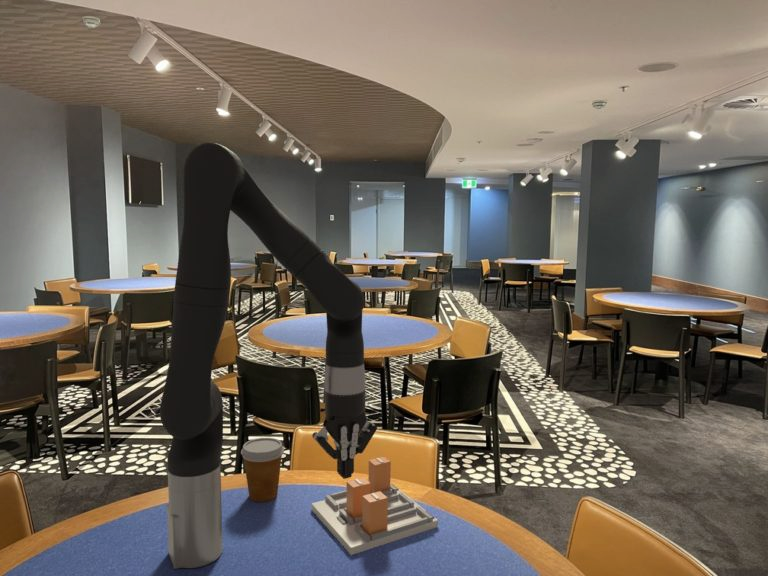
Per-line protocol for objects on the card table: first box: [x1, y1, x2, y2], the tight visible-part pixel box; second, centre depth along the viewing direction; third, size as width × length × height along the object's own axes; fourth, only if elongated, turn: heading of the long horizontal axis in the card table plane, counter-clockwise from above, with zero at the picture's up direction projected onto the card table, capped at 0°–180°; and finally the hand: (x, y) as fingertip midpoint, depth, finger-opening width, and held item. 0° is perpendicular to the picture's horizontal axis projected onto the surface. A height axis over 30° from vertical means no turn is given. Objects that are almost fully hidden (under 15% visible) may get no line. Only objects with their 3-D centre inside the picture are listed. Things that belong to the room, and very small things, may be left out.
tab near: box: [362, 491, 388, 537], centre depth 109 cm, size 4×3×7 cm
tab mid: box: [346, 476, 370, 520], centre depth 115 cm, size 4×3×7 cm
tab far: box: [368, 456, 392, 493], centre depth 125 cm, size 4×3×7 cm
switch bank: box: [310, 482, 439, 556], centre depth 117 cm, size 20×19×2 cm
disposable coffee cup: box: [240, 437, 285, 503], centre depth 126 cm, size 10×10×12 cm
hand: (345, 476), depth 104 cm, fingers closed
